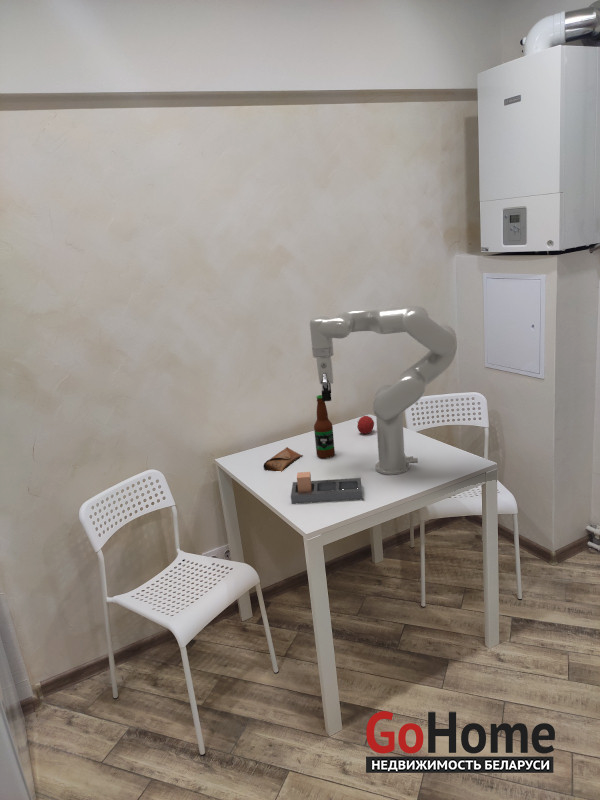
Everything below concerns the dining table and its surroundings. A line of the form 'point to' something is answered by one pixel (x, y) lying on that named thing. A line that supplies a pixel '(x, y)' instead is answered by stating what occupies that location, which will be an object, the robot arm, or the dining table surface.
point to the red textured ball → (365, 424)
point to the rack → (329, 491)
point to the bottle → (323, 431)
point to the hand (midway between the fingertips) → (326, 397)
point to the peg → (304, 482)
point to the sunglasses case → (281, 460)
